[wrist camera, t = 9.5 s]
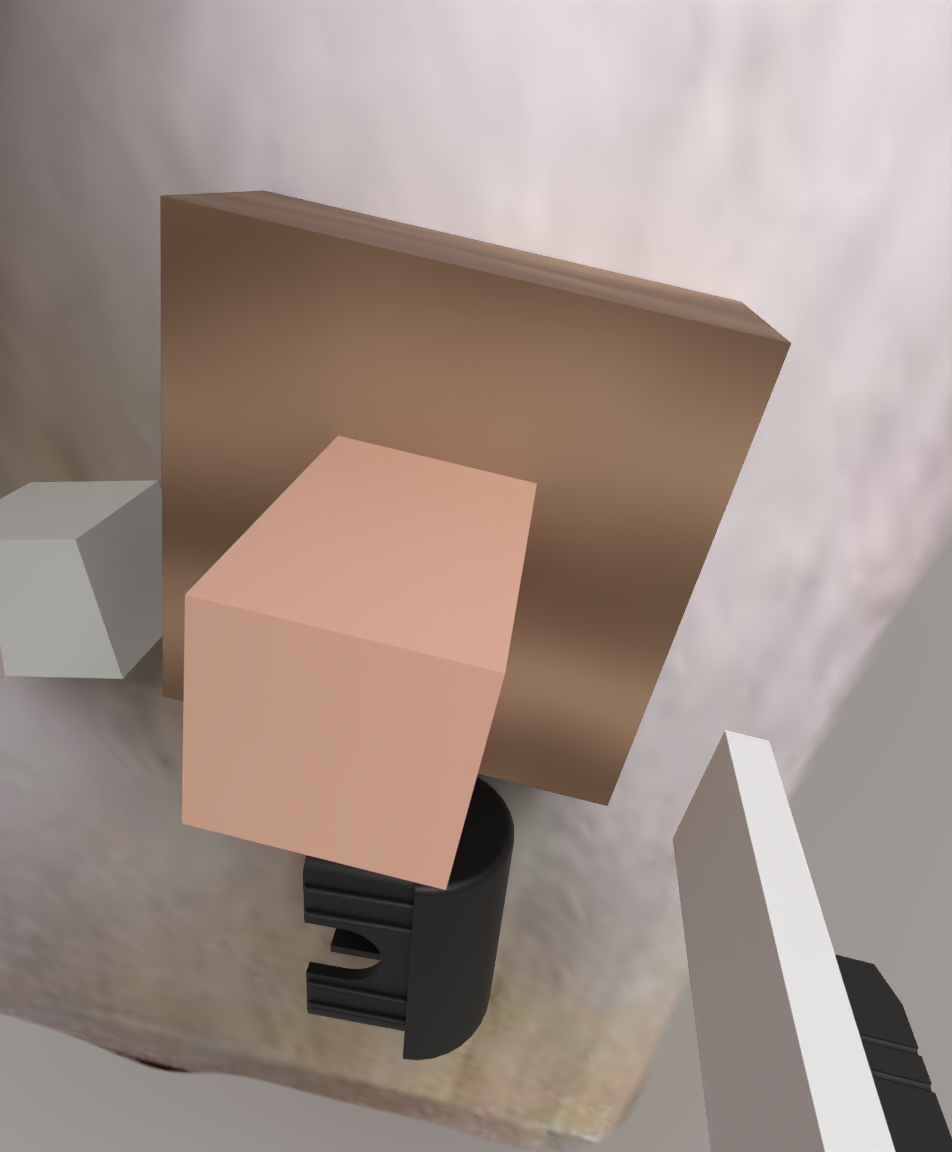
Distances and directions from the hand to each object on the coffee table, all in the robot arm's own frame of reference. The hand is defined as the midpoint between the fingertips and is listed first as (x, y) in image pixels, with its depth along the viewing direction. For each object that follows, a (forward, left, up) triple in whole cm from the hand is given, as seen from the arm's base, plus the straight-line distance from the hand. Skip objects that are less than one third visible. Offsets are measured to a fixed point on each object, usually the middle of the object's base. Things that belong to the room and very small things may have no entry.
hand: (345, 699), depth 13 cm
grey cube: (+6, -12, -13) cm, 19 cm away
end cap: (+17, +2, -13) cm, 22 cm away
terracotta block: (0, 0, -7) cm, 7 cm away
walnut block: (0, 0, -13) cm, 13 cm away
